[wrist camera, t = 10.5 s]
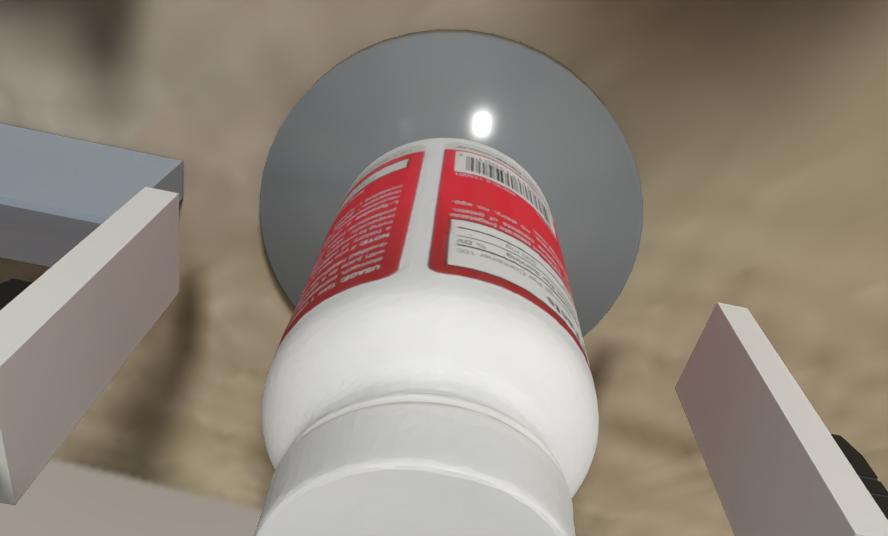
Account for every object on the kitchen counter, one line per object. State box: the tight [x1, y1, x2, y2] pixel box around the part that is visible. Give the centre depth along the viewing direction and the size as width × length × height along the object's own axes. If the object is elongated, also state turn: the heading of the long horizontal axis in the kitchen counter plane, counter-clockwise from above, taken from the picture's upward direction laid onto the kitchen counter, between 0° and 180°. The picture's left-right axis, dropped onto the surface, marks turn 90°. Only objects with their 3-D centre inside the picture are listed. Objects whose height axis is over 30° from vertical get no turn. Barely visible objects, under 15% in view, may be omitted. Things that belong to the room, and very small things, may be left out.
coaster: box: [260, 30, 643, 337], centre depth 19 cm, size 11×11×1 cm
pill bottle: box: [254, 138, 599, 536], centre depth 14 cm, size 6×6×11 cm
